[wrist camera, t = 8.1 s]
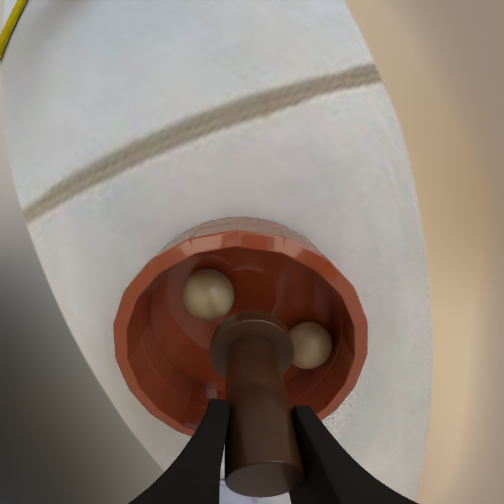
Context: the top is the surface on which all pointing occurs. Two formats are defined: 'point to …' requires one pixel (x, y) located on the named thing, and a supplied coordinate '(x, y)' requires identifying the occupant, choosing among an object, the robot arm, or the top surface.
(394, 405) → the top surface
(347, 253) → the top surface
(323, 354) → the bead
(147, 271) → the bowl
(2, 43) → the pencil
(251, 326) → the pestle
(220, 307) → the bead
